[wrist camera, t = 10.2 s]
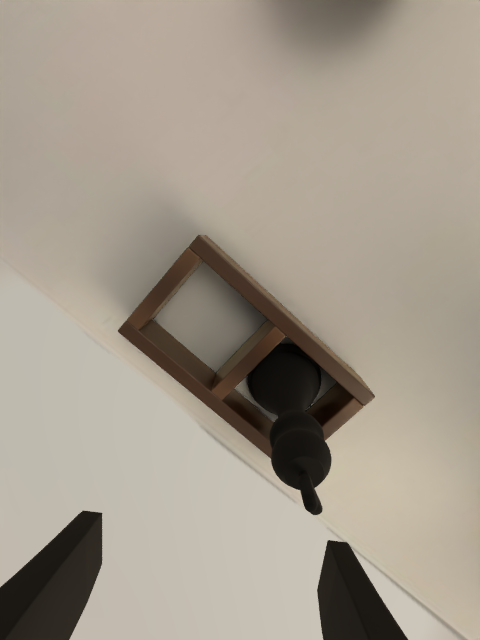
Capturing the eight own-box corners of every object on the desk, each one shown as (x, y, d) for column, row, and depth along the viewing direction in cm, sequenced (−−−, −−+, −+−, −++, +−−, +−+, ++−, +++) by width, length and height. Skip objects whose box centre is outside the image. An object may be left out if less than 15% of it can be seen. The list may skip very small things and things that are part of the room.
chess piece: (306, 332, 19) (359, 429, 10) (330, 396, 20) (400, 544, 10) (236, 358, 20) (220, 473, 10) (262, 419, 21) (270, 579, 11)
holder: (284, 446, 21) (288, 473, 19) (134, 319, 19) (117, 331, 17) (361, 377, 20) (375, 397, 17) (206, 234, 18) (198, 234, 16)
